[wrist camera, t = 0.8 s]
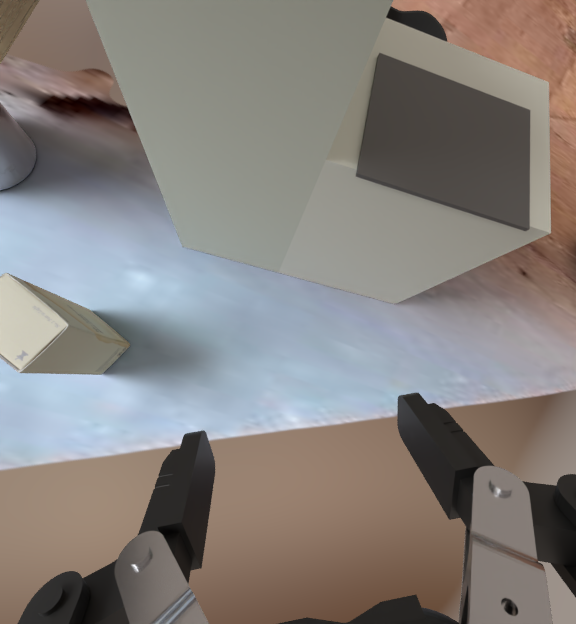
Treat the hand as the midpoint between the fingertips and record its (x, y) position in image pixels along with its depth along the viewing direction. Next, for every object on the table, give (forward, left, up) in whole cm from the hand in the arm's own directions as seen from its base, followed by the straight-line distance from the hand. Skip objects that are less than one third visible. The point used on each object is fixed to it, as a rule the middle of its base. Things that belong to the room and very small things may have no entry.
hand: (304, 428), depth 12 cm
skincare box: (-15, -12, -22) cm, 29 cm away
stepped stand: (-15, +16, -22) cm, 31 cm away
